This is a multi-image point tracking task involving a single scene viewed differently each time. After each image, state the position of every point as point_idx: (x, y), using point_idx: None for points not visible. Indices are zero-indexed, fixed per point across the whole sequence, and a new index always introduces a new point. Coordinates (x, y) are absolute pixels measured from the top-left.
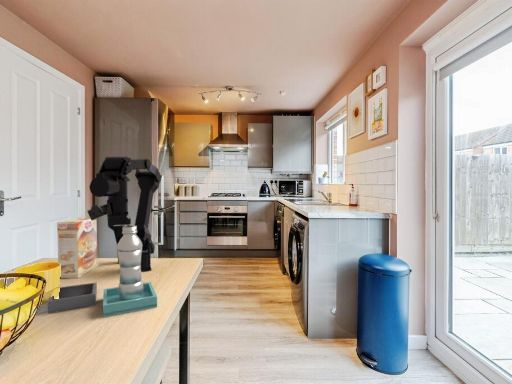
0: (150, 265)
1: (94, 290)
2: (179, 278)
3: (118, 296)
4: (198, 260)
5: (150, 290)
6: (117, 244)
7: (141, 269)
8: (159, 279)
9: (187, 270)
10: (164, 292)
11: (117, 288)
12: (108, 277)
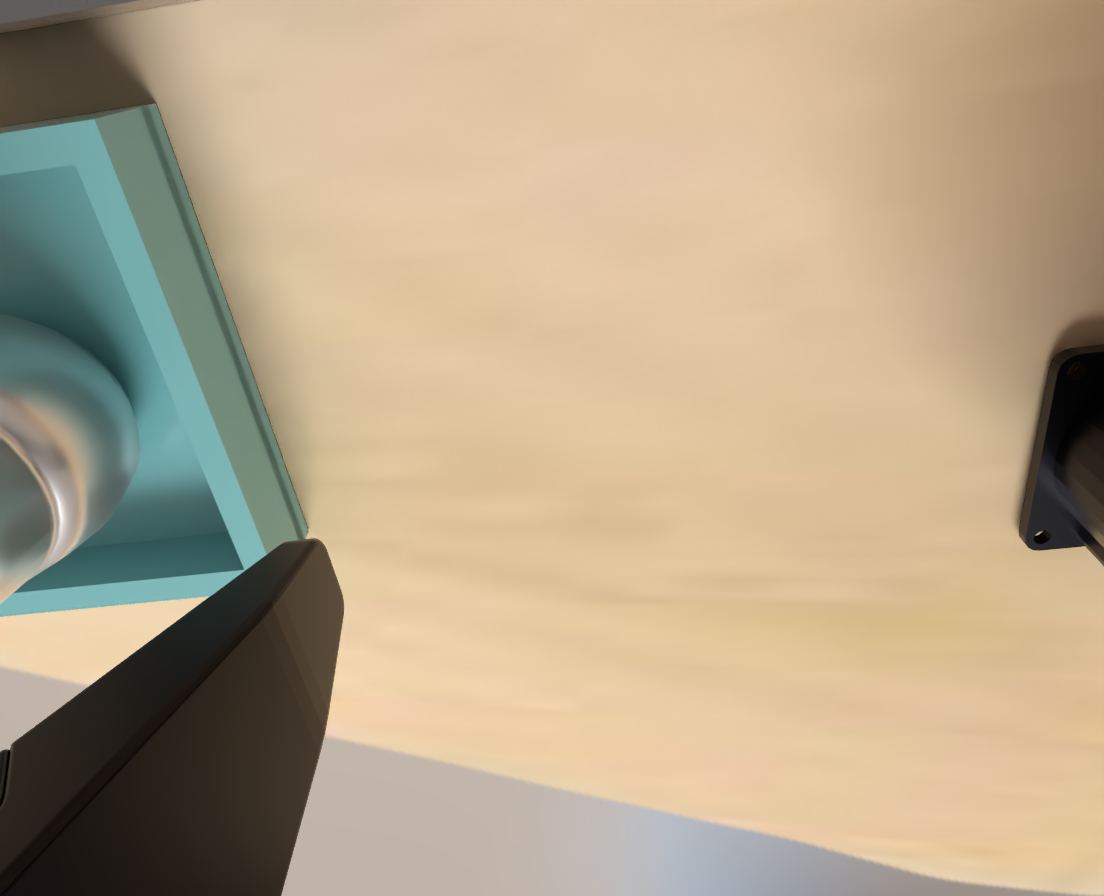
0: (1100, 560)
1: (9, 2)
2: (596, 732)
3: (113, 276)
4: (1088, 892)
5: (81, 576)
6: (234, 590)
7: (1062, 455)
8: (640, 598)
9: (808, 798)
10: None
11: (132, 284)
12: (1053, 27)
